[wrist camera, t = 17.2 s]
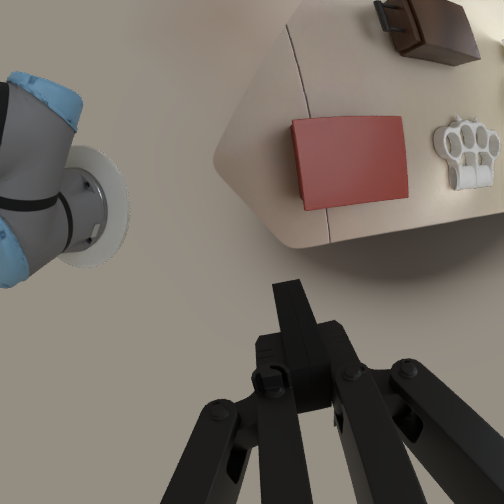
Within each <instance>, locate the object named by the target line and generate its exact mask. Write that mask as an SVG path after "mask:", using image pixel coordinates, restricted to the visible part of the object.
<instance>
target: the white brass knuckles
mask: <svg viewBox="0 0 504 504" xmlns="http://www.w3.org/2000/svg"><path fill="white" fill-rule="evenodd" d="M460 130H462V133H463V136H464V144H463V142H462V139H461V136H460ZM476 132H477V143H476ZM447 136H448V137H449V140H450V143H451V152H450V153H449V152H448V149H447V145H446V137H447ZM433 142H434V147H435V150H436V152H437V153H438V155H439V156H440V157H442V158H444V159H446V161H447V162H448V164H449V180H450V185H451V188H452V189H453V190H457V191H459V190H462V189H470V188H474V189H476V188H479V187H491V186H492V184H493V179H494V169H493V164H494V161H495V159H496V158H498V156H499V154H500V150H501V144H500V139H499V136H498V134H497V133H496V132H495V131H494V130H488V129H487V128H486V127H485V126H484V124H482V123H480V122H478V119H477V117H476V115H475V117H474V119H473V121H468V120H462V119H461V118H460V117H459V116H458V114H457V113H456V120H455V121H454V122H451V124H450V125H449V126H448V127H439V128H437V130H436V131H435V133H434V138H433ZM464 152H465V157H466V165H465V166H461V165H460V158H461V157H462V155H463V153H464ZM478 153H479V154H480V155H481V157H482V163H481V165H478Z"/></svg>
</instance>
